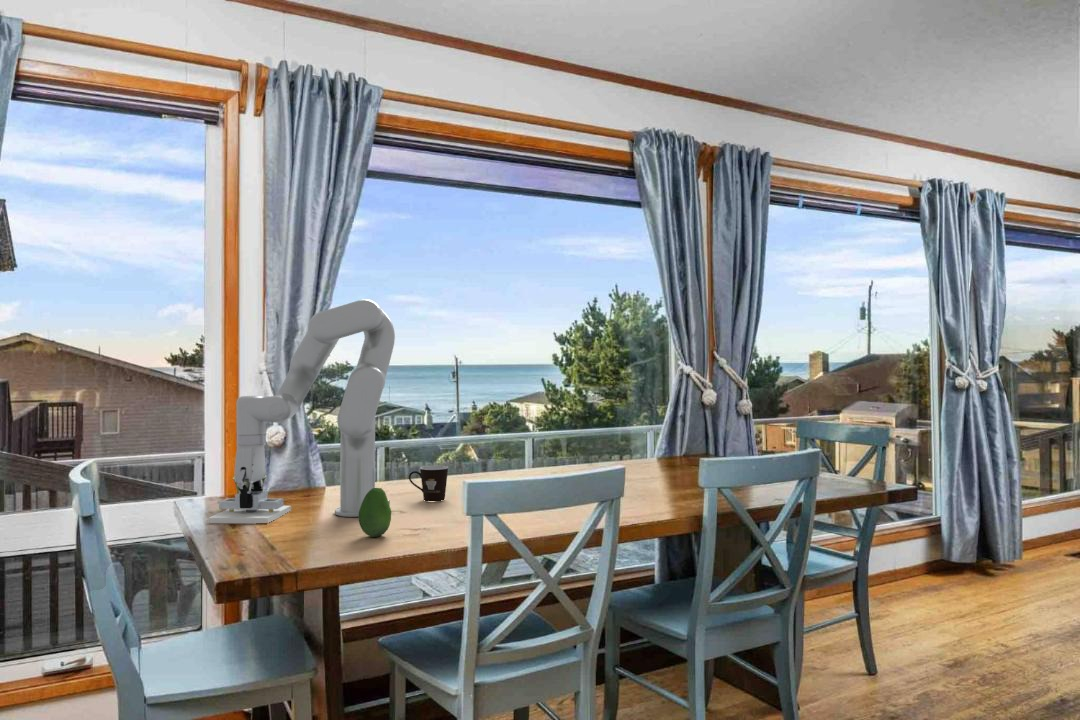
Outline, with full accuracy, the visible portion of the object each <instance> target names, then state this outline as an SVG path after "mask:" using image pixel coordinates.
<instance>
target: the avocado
mask: <svg viewBox="0 0 1080 720" xmlns="http://www.w3.org/2000/svg"><path fill="white" fill-rule="evenodd" d="M388 500H389V499H388V496H387V494H386V492H385V491H384V489H383V488H382V487H375V488H373V489H371V490H370V491H369V492H368V493H367V494H366V496H365V498H364V500H363V502H362V504H361V507H360V510H359V517H358V522H359V526H360V528H361V530H362V532H363V533H364V534H365V535H367V536H368V537H371V538H379V537H381V536H383V535H384V534H386V532H387V531H388V530H389V527H390V525H391V522H392V509H391V506H389V503H388Z"/></svg>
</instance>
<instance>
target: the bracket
mask: <svg viewBox="0 0 1080 720" xmlns="http://www.w3.org/2000/svg"><path fill="white" fill-rule="evenodd" d="M268 492H269V491H268V490H263V491H251V493H252V508H240V494H237V493H236V494H234V497H231V498H230V497H229V498H228V497H227V498H225V499H223V500H220V501H219V502H218V509H219V510H227V509H235V510H259V509H278V508H280V507H282V506H285V504H284V501H285V499H284V498H269V496H268Z"/></svg>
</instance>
